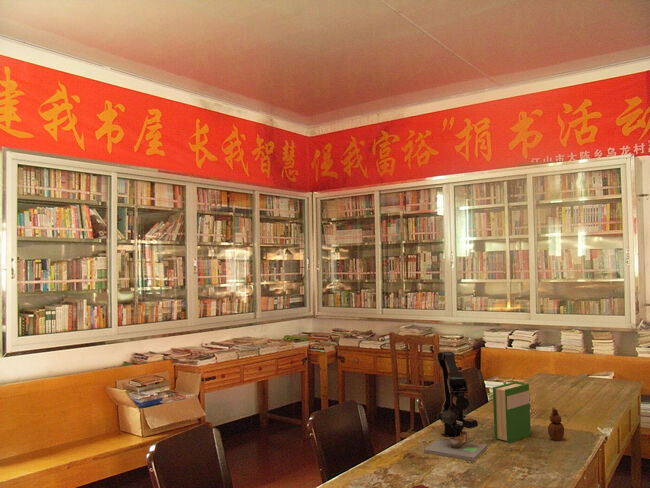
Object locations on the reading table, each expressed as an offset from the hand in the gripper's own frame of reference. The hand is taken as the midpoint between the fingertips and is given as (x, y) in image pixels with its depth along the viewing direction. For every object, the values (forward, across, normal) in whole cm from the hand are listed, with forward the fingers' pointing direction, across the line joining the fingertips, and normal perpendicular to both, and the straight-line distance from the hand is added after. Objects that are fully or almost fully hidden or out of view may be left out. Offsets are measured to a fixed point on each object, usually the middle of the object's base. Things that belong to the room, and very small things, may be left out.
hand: (457, 438), depth 251 cm
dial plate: (+3, +4, -6) cm, 7 cm away
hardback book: (+3, +9, +29) cm, 30 cm away
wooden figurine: (+2, +24, +40) cm, 47 cm away
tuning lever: (+1, +3, -2) cm, 4 cm away
